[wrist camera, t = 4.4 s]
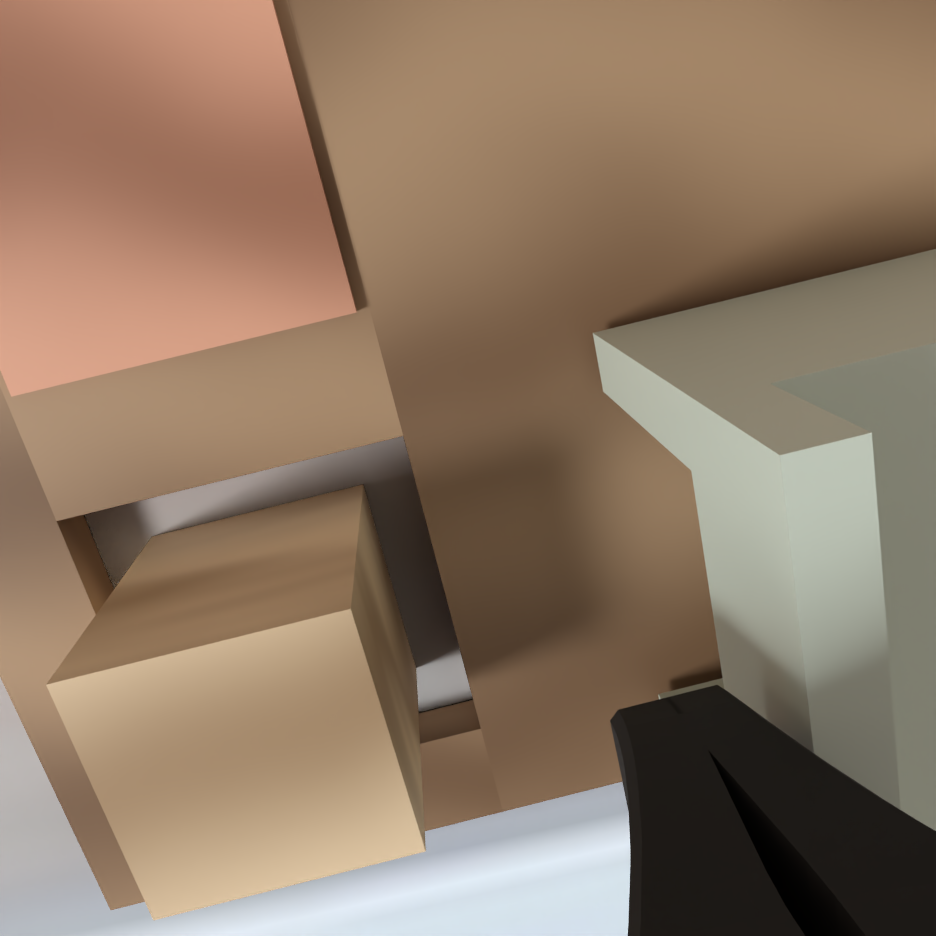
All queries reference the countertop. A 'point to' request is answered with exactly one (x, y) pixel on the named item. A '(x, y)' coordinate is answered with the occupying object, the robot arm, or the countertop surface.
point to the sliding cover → (812, 503)
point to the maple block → (251, 706)
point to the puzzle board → (420, 306)
